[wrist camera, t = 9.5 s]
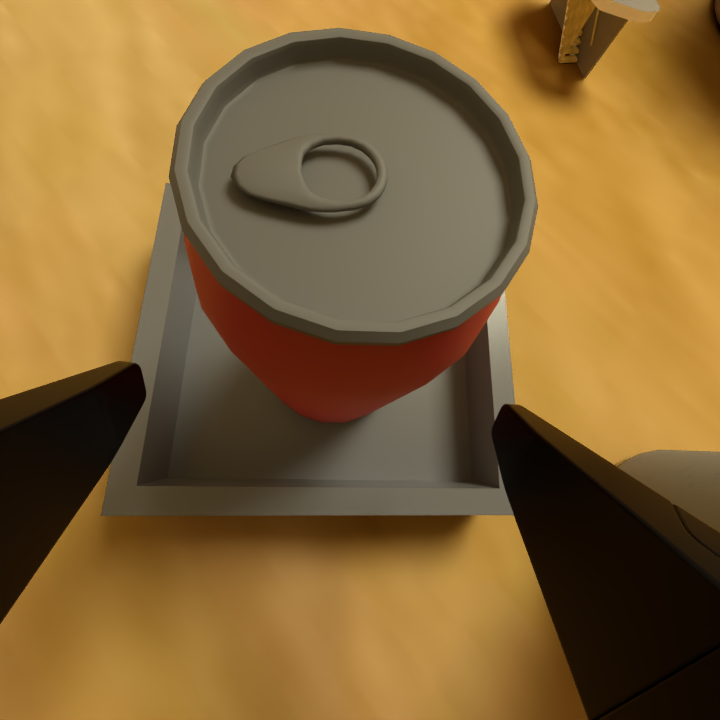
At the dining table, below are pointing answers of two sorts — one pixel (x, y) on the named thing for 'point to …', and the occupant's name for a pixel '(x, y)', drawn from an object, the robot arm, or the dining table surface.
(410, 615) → the dining table surface
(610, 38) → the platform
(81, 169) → the dining table surface
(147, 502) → the tray
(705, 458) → the water bottle
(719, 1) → the plant pot
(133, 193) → the dining table surface
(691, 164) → the dining table surface
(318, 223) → the beer can
